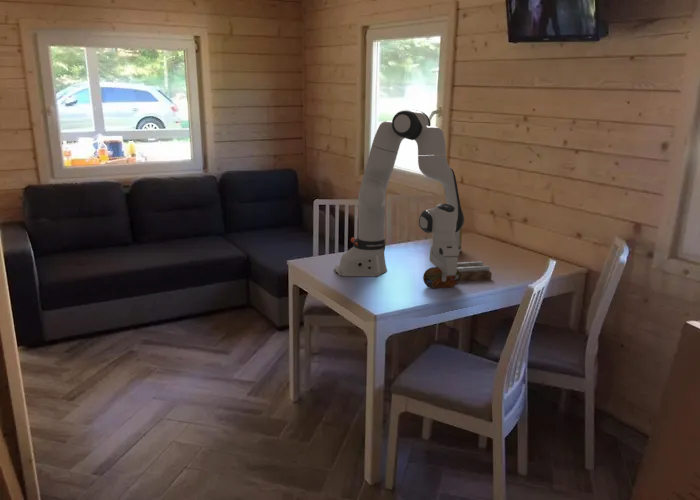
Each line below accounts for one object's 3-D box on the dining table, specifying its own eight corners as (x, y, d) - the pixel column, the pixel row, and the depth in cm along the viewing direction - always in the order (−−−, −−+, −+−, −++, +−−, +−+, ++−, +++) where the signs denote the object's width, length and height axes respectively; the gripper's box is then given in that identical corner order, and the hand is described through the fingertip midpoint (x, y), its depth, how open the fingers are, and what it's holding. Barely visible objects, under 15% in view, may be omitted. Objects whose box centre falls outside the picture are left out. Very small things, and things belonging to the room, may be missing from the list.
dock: (450, 282, 246) (451, 270, 244) (439, 273, 257) (440, 262, 256) (491, 279, 250) (492, 268, 248) (478, 270, 261) (479, 259, 260)
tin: (424, 289, 237) (425, 269, 234) (421, 286, 240) (422, 266, 237) (459, 287, 240) (461, 267, 237) (456, 284, 243) (458, 264, 240)
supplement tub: (449, 246, 299) (451, 212, 294) (466, 251, 289) (468, 217, 284) (430, 249, 292) (432, 215, 288) (447, 255, 283) (449, 220, 278)
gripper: (426, 239, 244) (425, 271, 248) (445, 253, 225) (443, 288, 229) (441, 238, 245) (439, 271, 249) (461, 252, 226) (458, 287, 230)
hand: (441, 279), depth 239 cm, fingers open, 2 cm apart
